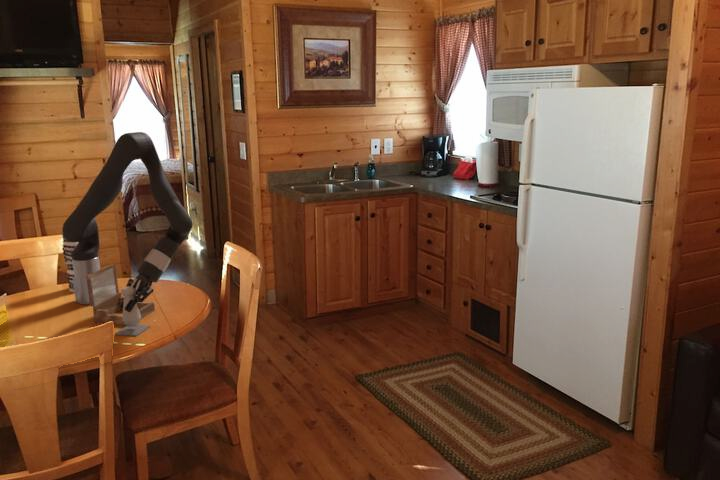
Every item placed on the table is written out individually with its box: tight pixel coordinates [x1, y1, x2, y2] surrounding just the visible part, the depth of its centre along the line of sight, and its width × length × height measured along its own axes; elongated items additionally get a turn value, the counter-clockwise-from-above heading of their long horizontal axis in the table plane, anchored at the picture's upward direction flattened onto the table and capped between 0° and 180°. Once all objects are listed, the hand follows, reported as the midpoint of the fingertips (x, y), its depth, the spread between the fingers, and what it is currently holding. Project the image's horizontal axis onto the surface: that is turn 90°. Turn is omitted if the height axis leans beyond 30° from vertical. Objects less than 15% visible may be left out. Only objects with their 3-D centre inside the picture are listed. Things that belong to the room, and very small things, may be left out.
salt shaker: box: [120, 286, 142, 327], centre depth 201 cm, size 6×6×13 cm
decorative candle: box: [61, 233, 78, 293], centre depth 244 cm, size 9×9×25 cm
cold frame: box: [86, 263, 156, 326], centre depth 214 cm, size 15×15×17 cm
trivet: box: [114, 324, 151, 338], centre depth 203 cm, size 8×8×1 cm
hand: (124, 309), depth 200 cm, fingers closed on salt shaker, 3 cm apart
